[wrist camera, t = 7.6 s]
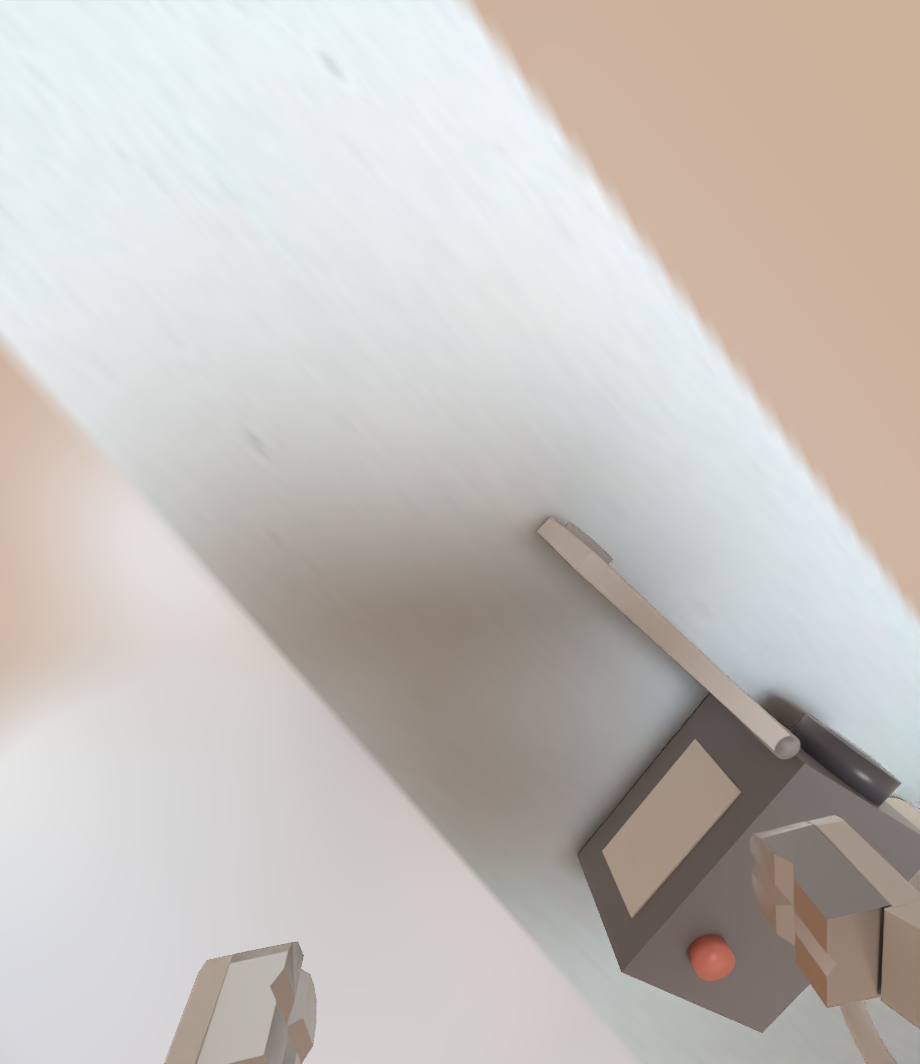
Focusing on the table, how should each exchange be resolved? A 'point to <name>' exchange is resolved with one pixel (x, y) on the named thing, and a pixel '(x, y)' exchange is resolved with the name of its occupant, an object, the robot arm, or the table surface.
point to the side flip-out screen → (666, 635)
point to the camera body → (727, 857)
